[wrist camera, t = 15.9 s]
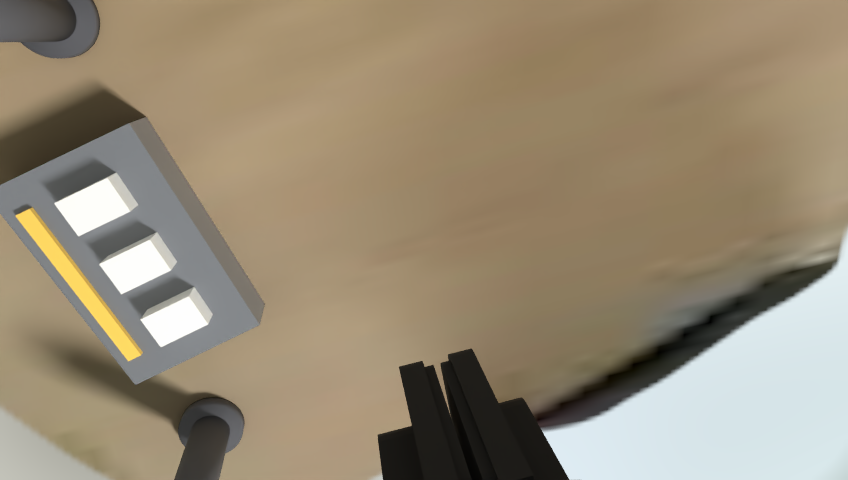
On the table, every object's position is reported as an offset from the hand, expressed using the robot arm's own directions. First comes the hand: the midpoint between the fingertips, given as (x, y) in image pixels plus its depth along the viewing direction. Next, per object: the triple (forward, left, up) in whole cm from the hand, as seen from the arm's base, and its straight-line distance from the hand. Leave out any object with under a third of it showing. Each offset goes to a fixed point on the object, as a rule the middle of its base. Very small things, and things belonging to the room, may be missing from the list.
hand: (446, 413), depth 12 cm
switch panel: (+3, -17, -32) cm, 36 cm away
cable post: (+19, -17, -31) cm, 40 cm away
